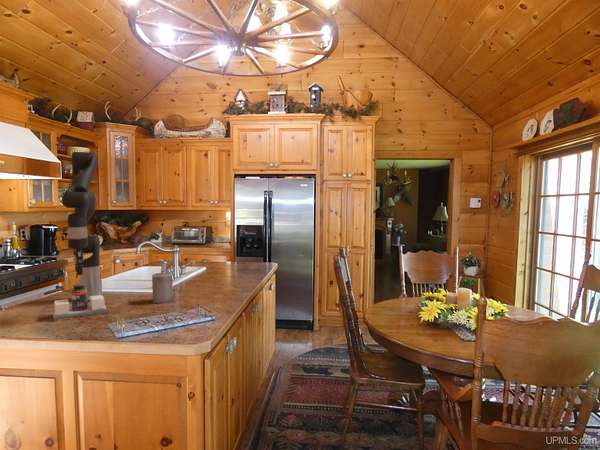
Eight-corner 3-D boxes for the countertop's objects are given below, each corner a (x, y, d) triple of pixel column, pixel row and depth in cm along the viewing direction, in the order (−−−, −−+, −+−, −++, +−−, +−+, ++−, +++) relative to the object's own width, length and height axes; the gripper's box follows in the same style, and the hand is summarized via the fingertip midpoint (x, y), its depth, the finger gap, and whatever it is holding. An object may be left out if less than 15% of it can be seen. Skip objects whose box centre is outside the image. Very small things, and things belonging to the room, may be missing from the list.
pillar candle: (164, 297, 190) (163, 269, 189) (177, 299, 185) (176, 271, 184) (148, 301, 182) (147, 272, 181) (161, 304, 177) (160, 274, 176)
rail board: (103, 307, 171) (103, 294, 170) (107, 313, 162) (106, 299, 161) (52, 314, 159) (52, 300, 159) (53, 321, 150) (53, 306, 150)
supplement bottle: (84, 306, 165) (83, 282, 164) (89, 309, 161) (89, 284, 160) (70, 309, 160) (69, 284, 159) (74, 312, 156) (74, 286, 156)
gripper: (66, 236, 162) (67, 271, 163) (68, 239, 150) (69, 277, 151) (85, 235, 166) (86, 269, 167) (89, 238, 155) (90, 275, 156)
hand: (78, 273), depth 159 cm, fingers open, 8 cm apart
